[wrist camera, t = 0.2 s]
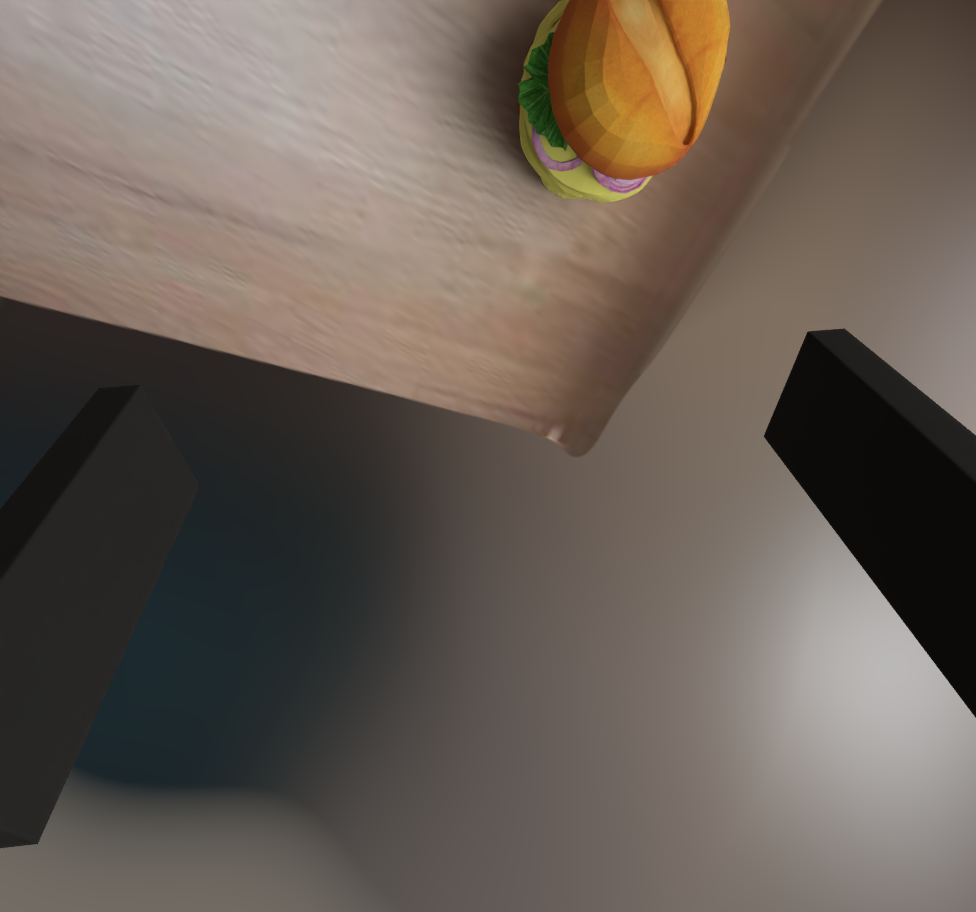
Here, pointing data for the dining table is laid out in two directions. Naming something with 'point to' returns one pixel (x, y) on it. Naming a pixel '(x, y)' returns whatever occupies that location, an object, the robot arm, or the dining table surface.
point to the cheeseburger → (618, 91)
